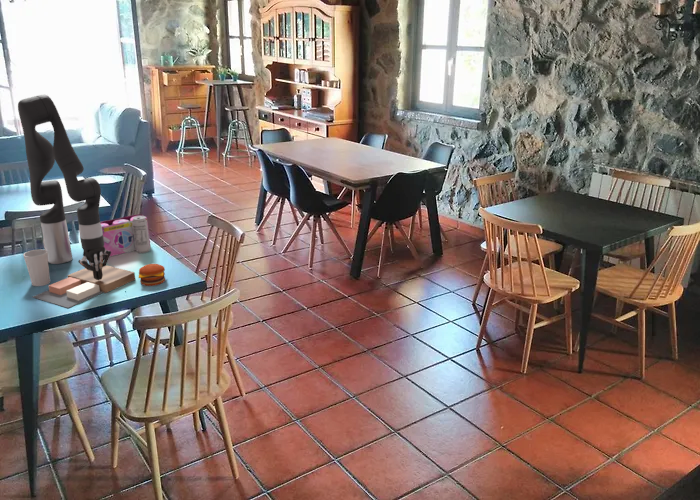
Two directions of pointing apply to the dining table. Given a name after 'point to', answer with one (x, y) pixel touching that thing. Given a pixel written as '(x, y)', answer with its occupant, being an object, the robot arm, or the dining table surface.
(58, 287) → the terracotta card box
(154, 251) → the dining table surface
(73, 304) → the slate mat
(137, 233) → the energy drink can
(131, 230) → the gum box
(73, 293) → the cream card box
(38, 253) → the cup
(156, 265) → the hamburger
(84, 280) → the walnut board
